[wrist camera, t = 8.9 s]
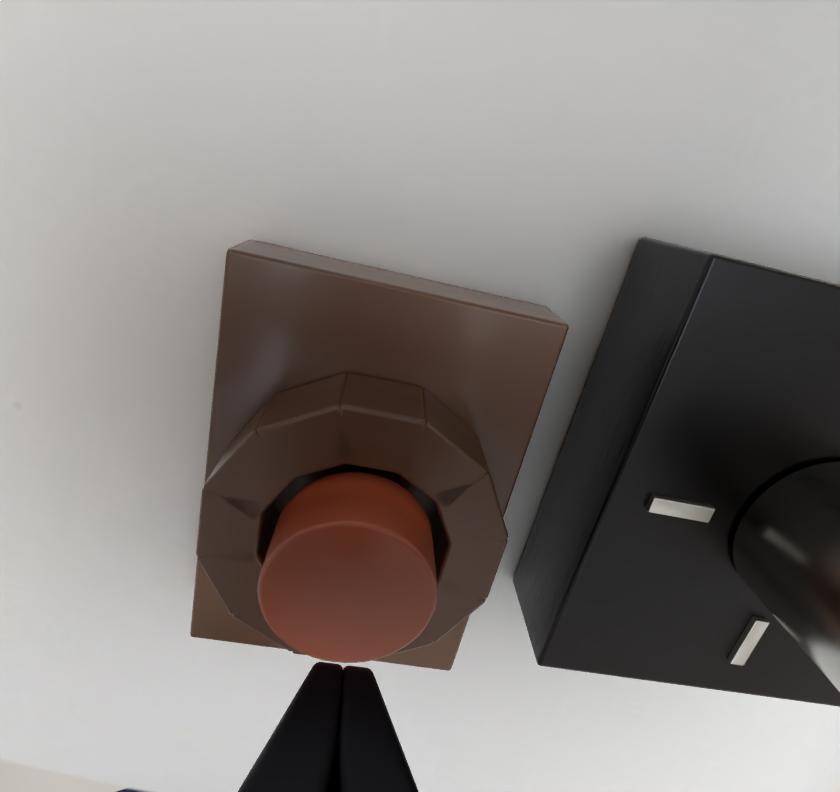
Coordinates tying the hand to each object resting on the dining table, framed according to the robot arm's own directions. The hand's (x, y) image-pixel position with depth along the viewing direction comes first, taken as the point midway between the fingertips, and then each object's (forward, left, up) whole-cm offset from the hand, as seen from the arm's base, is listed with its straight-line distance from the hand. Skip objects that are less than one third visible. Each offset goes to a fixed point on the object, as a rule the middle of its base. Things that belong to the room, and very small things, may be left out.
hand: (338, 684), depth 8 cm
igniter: (0, 0, -6) cm, 7 cm away
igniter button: (0, 0, -3) cm, 3 cm away
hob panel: (+2, -10, -6) cm, 12 cm away
